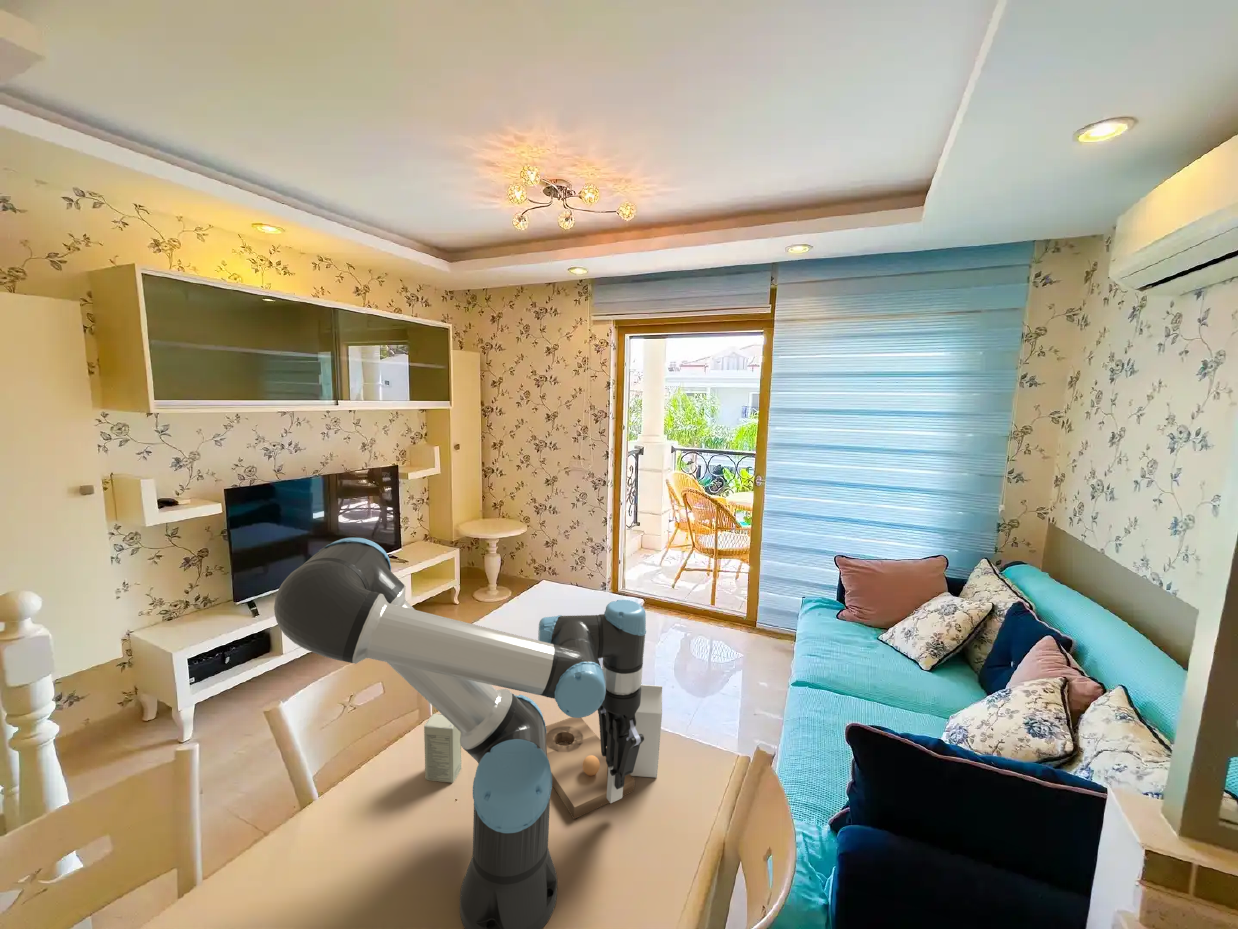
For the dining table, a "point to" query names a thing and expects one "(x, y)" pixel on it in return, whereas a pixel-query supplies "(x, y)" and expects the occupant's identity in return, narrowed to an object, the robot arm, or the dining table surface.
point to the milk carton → (648, 731)
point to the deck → (578, 766)
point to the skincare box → (441, 749)
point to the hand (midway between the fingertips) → (614, 798)
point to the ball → (591, 765)
